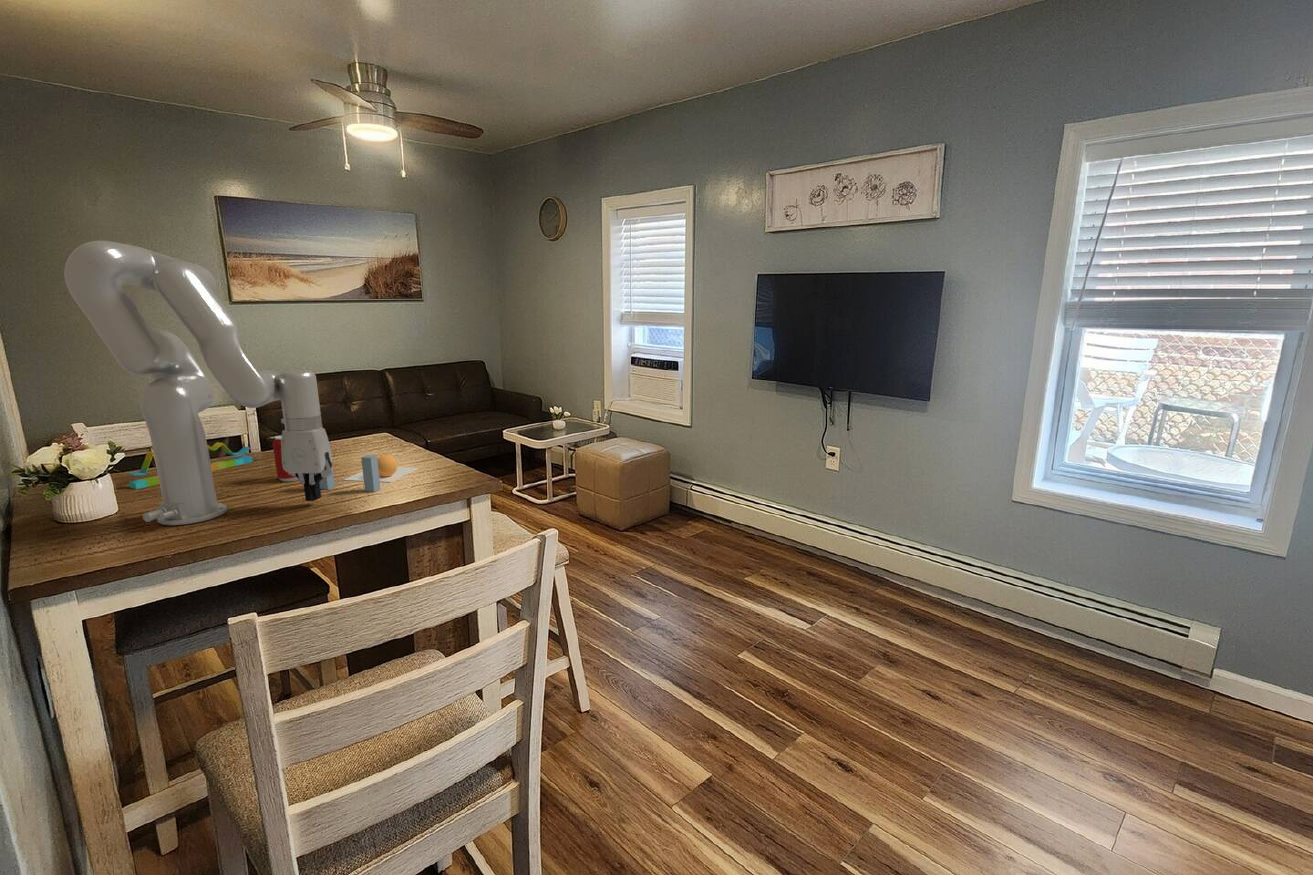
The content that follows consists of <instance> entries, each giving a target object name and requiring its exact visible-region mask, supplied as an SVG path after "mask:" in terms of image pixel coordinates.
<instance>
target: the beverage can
mask: <svg viewBox="0 0 1313 875" xmlns="http://www.w3.org/2000/svg"><path fill="white" fill-rule="evenodd" d="M281 437H282V434H281V435H277V436H275V437H274V440H273V442H272V448H273V450H272V451H273V455H274V463H275V470H276V477H277V479H279V480H280V481H281V482H294V481H298V480H299V479H298V478H297V477H296V476H292V475H289V474H288V472H286V471H285V470H284V469H283V465H282V455H281ZM299 481H300V480H299Z"/></svg>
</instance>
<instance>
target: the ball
mask: <svg viewBox="0 0 1313 875" xmlns="http://www.w3.org/2000/svg"><path fill="white" fill-rule="evenodd" d="M377 461H378V471H379V476H382V477H388V476H391V475H393V474H394V473H395V472H396V470H397V467H398V462H397V460H396V459H395V458H394V457H393V456H391V455H388V454H383V455H380V456H377Z"/></svg>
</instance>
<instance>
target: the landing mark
mask: <svg viewBox="0 0 1313 875" xmlns="http://www.w3.org/2000/svg"><path fill="white" fill-rule="evenodd" d="M418 469H419V467H404V466H403V467H402V466H400V467H399V466H397V470H396V472H395V473H394V474H393V475H391V476H388V477H382V476H379V480H380V483H392V482H394V481H397V480H398V479H401V478H403V477H405V476H406V475H409V474H410V473H412V472H413V473H414V472H415V471H417V470H418ZM343 481H346V482H348V481H349V482H350V481H352V482H364V478H363V470H362V471H360V472H358V473H356V474H353V475H351V476H349V477H346V478H343Z"/></svg>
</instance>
